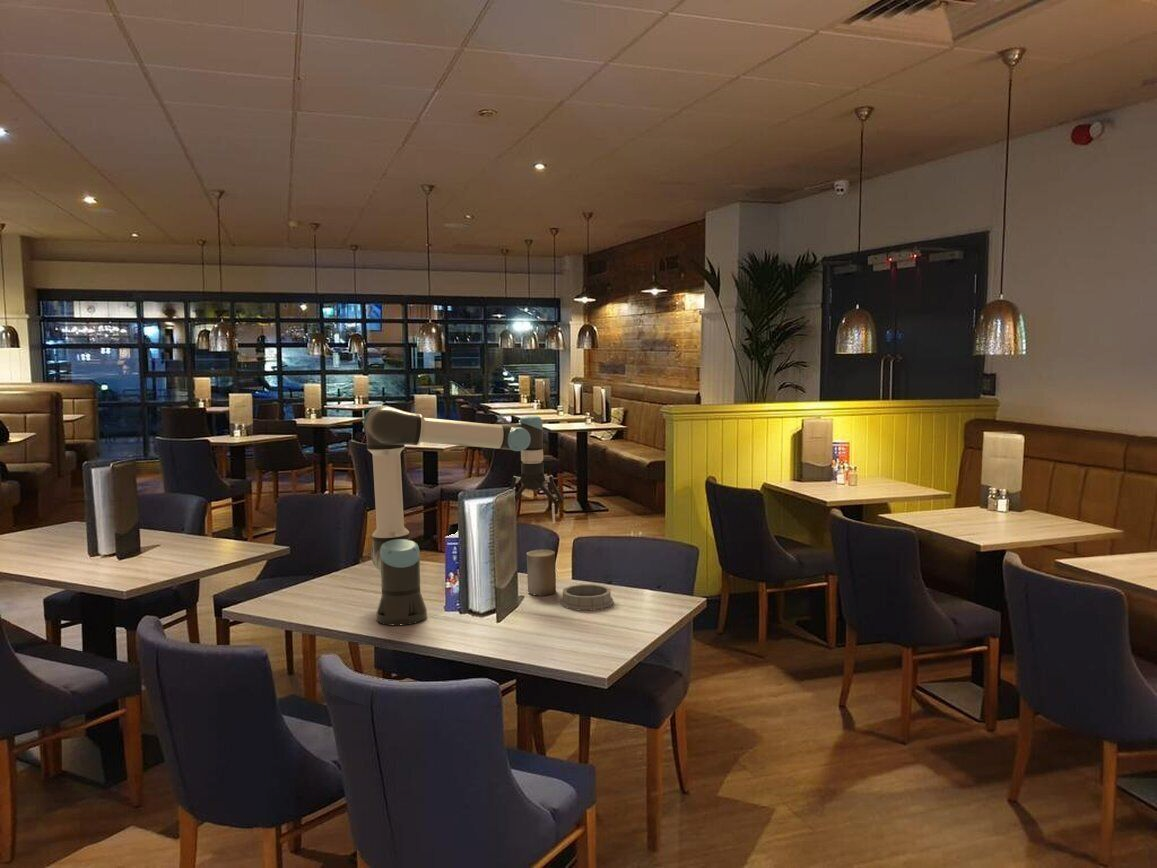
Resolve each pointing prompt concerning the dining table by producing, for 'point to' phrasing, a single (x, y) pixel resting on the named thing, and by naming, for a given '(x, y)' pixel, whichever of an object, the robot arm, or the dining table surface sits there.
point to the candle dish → (586, 597)
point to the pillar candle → (541, 572)
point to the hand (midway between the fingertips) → (533, 523)
